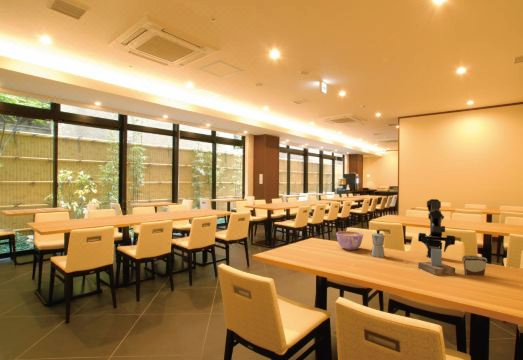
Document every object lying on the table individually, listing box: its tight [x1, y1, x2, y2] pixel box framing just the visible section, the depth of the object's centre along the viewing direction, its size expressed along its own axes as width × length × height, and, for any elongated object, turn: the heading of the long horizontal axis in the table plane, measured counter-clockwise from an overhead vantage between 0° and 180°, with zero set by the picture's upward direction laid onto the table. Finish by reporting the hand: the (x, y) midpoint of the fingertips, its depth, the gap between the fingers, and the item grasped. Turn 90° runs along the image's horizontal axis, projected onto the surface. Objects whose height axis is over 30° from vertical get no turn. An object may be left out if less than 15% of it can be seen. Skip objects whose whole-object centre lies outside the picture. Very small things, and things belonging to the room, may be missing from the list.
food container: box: [461, 254, 488, 277], centre depth 163 cm, size 12×6×10 cm, turn 84°
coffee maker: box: [371, 229, 386, 258], centre depth 201 cm, size 15×9×18 cm, turn 137°
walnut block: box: [417, 261, 456, 276], centre depth 168 cm, size 13×13×4 cm
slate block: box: [430, 248, 443, 266], centre depth 168 cm, size 5×5×9 cm
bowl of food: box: [335, 230, 364, 251], centre depth 220 cm, size 20×20×12 cm
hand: (436, 250), depth 166 cm, fingers open, 8 cm apart
